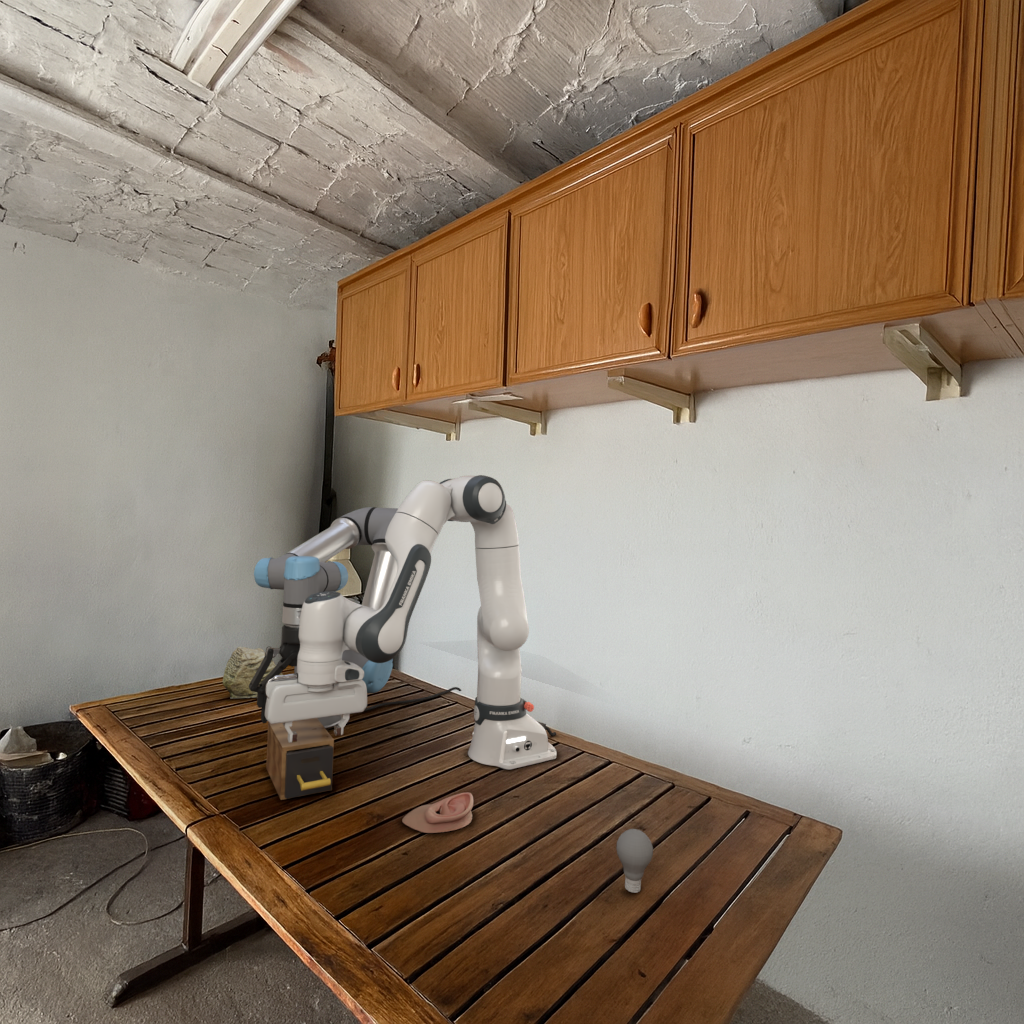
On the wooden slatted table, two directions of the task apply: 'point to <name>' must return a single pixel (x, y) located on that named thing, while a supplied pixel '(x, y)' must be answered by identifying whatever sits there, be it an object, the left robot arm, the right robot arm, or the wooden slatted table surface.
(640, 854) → the light bulb
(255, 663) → the fossil
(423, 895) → the wooden slatted table surface
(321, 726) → the cabinet
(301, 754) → the drawer
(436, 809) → the anatomical model
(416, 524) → the right robot arm
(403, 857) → the wooden slatted table surface
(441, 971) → the wooden slatted table surface
